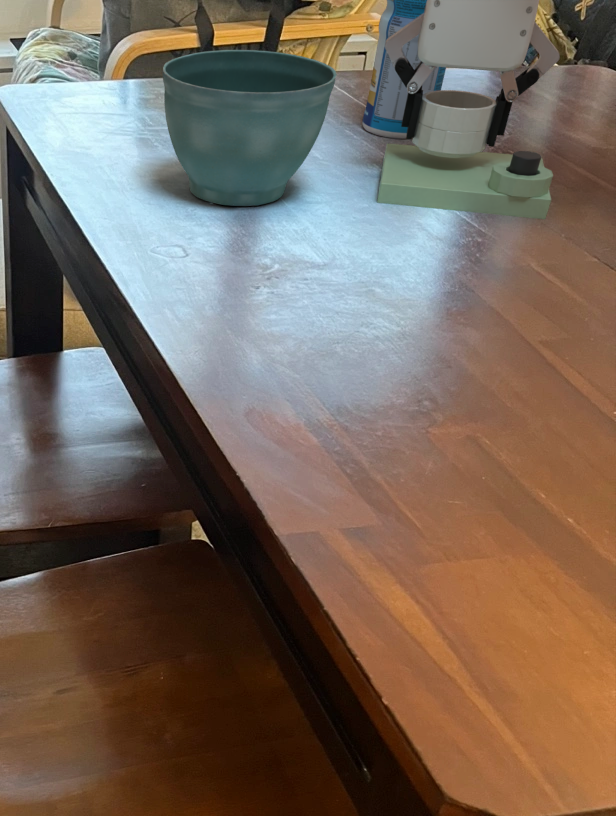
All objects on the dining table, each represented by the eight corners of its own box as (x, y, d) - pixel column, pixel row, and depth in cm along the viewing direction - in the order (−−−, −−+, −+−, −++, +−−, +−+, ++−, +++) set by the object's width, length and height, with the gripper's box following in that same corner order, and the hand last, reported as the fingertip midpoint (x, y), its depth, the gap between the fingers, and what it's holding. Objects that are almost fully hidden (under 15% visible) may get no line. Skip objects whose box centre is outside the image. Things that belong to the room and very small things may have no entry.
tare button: (534, 171, 102) (540, 152, 101) (536, 180, 100) (542, 160, 99) (507, 169, 102) (512, 149, 101) (508, 177, 101) (513, 157, 99)
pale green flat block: (536, 176, 111) (547, 140, 109) (545, 221, 101) (557, 182, 98) (382, 162, 114) (390, 126, 111) (376, 204, 104) (384, 166, 101)
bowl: (482, 142, 109) (495, 93, 106) (484, 162, 104) (497, 111, 101) (412, 136, 110) (422, 87, 107) (410, 156, 105) (421, 105, 102)
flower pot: (174, 223, 99) (185, 93, 91) (140, 170, 110) (147, 50, 103) (338, 217, 101) (361, 89, 93) (288, 165, 112) (305, 47, 105)
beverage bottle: (388, 144, 119) (433, -77, 105) (345, 124, 124) (382, -88, 110) (448, 136, 121) (500, -80, 107) (403, 117, 127) (447, -91, 113)
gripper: (599, -79, 95) (536, 136, 108) (404, -90, 98) (364, 121, 110) (608, -68, 90) (541, 158, 102) (401, -79, 93) (360, 141, 105)
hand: (449, 137), depth 106 cm, fingers closed on bowl, 7 cm apart
